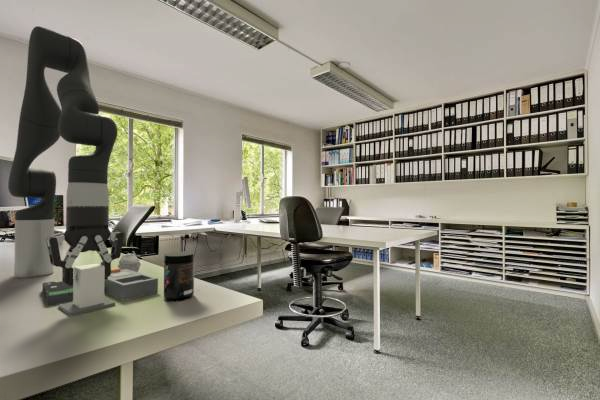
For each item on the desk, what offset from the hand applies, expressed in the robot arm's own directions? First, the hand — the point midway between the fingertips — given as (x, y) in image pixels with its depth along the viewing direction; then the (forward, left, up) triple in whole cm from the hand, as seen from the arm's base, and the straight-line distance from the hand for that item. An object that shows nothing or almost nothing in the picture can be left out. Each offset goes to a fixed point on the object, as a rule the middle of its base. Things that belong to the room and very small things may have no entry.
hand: (87, 281), depth 65 cm
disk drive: (-14, +1, -6) cm, 15 cm away
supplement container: (+10, +15, -6) cm, 19 cm away
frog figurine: (-21, +17, -6) cm, 28 cm away
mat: (0, 0, -5) cm, 5 cm away
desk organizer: (-10, +10, -5) cm, 15 cm away
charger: (0, 0, -5) cm, 5 cm away
